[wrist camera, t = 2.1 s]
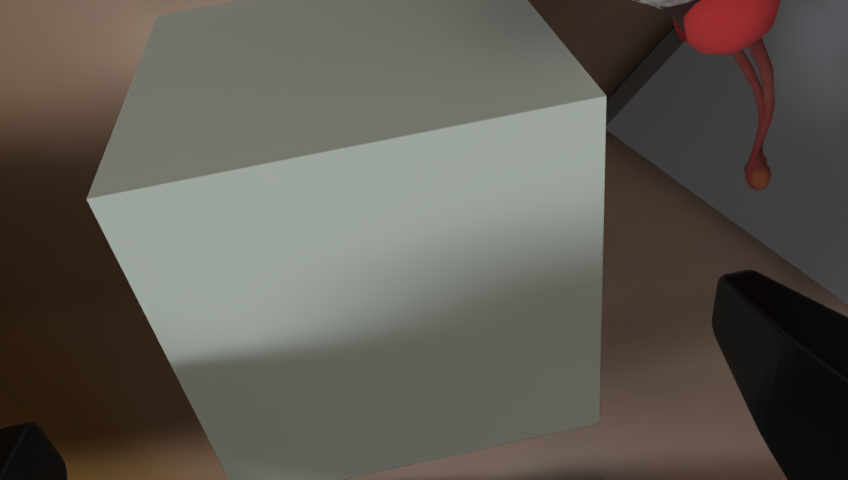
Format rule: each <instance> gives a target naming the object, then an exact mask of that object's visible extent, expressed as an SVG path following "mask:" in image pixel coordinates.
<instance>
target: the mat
mask: <svg viewBox="0 0 848 480" xmlns="http://www.w3.org/2000/svg"><path fill="white" fill-rule="evenodd" d="M762 40H763V43H764V45H765V48H766V50H767V52H768V55H769V58H770V61H771V63H772V66H773V76H774V96H775V106H774V111H773V116H772V121H771V124H770V126H769V129H768V132H767V135H766V137H765V140H764V142H763V155H764V156H765V157H766V158H767V165H768V166H769V168H770V171H771V179H770V183H769V185H768V186H767V187H766V188H765V189H762V190H755V189H752V188H750V186H749V185H748V183H747V182H746V180H745V172H744V168H743V167H744V166H745V165H746V163H747V162H748V160H749V157H750V154H751V152H752V148H753V145H754V142H755V138H756V133H757V128H758V122H759V116H758V110H757V105H756V100H755V98H754V95H753V90H752V88H751V86H750V84H749V83H748V81H747V79H746V77H745V75H744V74H743V72H742V70H741V68H740V67H739V65H738V64H737V62H736V60H735V59H734V57H733V56H732V54H728V55H722V54H702V53H700V52H699V51H697V50H696V49H694V48H693V47H692V46H690V45H689V44H688V43H687V42H684V41H682V40H680V38H679V36H678V35H677V33H676V31H675V27H674V28H673V29H672V30H671V31H670V32H669V33H668V34H667V35H666V37H665V38H664V39H663V40H662V41H661V42H660V43H659V44H658V45H657V46H656V48H655V49H654V50H653V51H652V52H651V53H650V54H649V55H648V56H647V57H646V59H645V60H644V61H643V62H642V63H641V64H640V65H639V66H638V67H637V68H636V70H635V71H634V72H633V73H632V74H631V75H630V76H629V77H628V78H627V79H626V81H625V82H624V83H623V84H622V85H621V86H620V87H619V88H618V89H617V90H616V91H615V93H614V94H613V95H612V96H611V97H610V98H609V99H608V100H607V101H606V130H607V131H608V132H610V133H611V134H612V135H614V136H615V137H616V138H618V139H619V140H621V141H622V142H623V143H625V144H626V145H628V146H629V147H630V148H632V149H633V150H634V151H636V152H637V153H639V154H640V155H641V156H643V157H644V158H645V159H647V160H648V161H650V162H651V163H652V164H654V165H655V166H656V167H658V168H659V169H661V170H662V171H663V172H665V173H666V174H667V175H669V176H670V177H672V178H673V179H674V180H676V181H677V182H678V183H680V184H681V185H683V186H684V187H685V188H687V189H688V190H690V191H691V192H692V193H694V194H695V195H696V196H698V197H699V198H701V199H702V200H703V201H705V202H706V203H707V204H709V205H710V206H712V207H713V208H714V209H716V210H717V211H718V212H720V213H721V214H723V215H724V216H725V217H727V218H728V219H729V220H731V221H732V222H734V223H735V224H736V225H738V226H739V227H741V228H742V229H743V230H745V231H746V232H747V233H749V234H750V235H752V236H753V237H754V238H756V239H757V240H758V241H760V242H761V243H763V244H764V245H765V246H767V247H768V248H769V249H771V250H772V251H774V252H775V253H776V254H778V255H779V256H780V257H782V258H783V259H785V260H786V261H787V262H789V263H790V264H791V265H793V266H794V267H796V268H797V269H798V270H800V271H801V272H803V273H804V274H805V275H807V276H808V277H809V278H811V279H812V280H814V281H815V282H816V283H818V284H819V285H820V286H822V287H823V288H825V289H826V290H827V291H829V292H830V293H831V294H833V295H834V296H836V297H837V298H838V299H840V300H841V301H842V302H844V303H845V304H847V305H848V0H780V5H779V9H778V12H777V15H776V18H775V21H774V24H773V27H772V28H771V29H770V30H769V31H768V32H767V33H766V34H765V35H764V36H763V37H762ZM743 51H744V53H745V54H746V56H747V57H748V59H749V61H750V62H751V64H752V66H753V68H754V70H755V72H756V75H757V77H758V79H759V81H760V84H761V87H762V83H761V79H760V75H759V70H758V67H757V65H756V63H755V61H754V58H753V56H752V55H751V53H750V51H749V49H748V47H747V48H745V49H743ZM762 90H763V88H762Z"/></svg>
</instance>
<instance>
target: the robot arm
mask: <svg viewBox="0 0 848 480" xmlns="http://www.w3.org/2000/svg"><path fill="white" fill-rule="evenodd" d="M712 327H713V332H714V335H715V337H716V340H717V342H718V344H719V346H720V348H721V351H722V353H723V355H724V357H725V359H726V361H727V363H728V366H729V368H730V370H731V372H732V374H733V376H734V379H735V381H736V383H737V385H738V387H739V389H740V392H741V394H742V396H743V398H744V400H745V402H746V405H747V407H748V409H749V411H750V413H751V415H752V417H753V420H754V422H755V424H756V426H757V428H758V430H759V432H760V434H761V435H762V437H763V439H764V441H765V442H766V444H767V446H768V448H769V449H770V451H771V453H772V454H773V456H774V458H775V459H776V461H777V463H778V464H779V466H780V468H781V469H782V471H783V473H784V474H785V476H786V477H787V479H788V480H848V317H846V316H844V315H842V314H840V313H838V312H836V311H834V310H832V309H830V308H828V307H826V306H824V305H822V304H820V303H818V302H816V301H814V300H812V299H810V298H808V297H806V296H804V295H802V294H800V293H798V292H796V291H794V290H792V289H790V288H788V287H786V286H784V285H782V284H780V283H778V282H776V281H774V280H772V279H770V278H768V277H766V276H764V275H762V274H760V273H758V272H756V271H753V270H744V271H739V272H735V273H730V274H725V275H723V276H721V278H720V279H719V281H718V284H717V289H716V296H715V302H714V309H713V315H712ZM0 480H67V470H66V466H65V463H64V460H63V459H62V457H61V456H60V454H59V453H58V451H57V450H56V449H55V447H54V446H53V444H52V443H51V442H50V440H49V439H48V437H47V436H46V435H45V433H44V432H43V430H42V429H41V428H40V427H39V426H38V425H37V424H35V423H29V422H28V423H23V424H19V425H14V426H9V427H5V428H2V429H0Z"/></svg>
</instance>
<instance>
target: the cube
mask: <svg viewBox="0 0 848 480" xmlns="http://www.w3.org/2000/svg"><path fill="white" fill-rule="evenodd" d="M606 97H607V96H606V95H605V93H604V92H603V91H602V90H601V89H600V87H599V86H598V85H597V84H596V82H595V81H594V80H593V79H592V78H591V76H590V75H589V74H588V73H587V72H586V70H585V69H584V68H583V67H582V65H581V64H580V63H579V62H578V61H577V59H576V58H575V57H574V56H573V55H572V53H571V52H570V51H569V50H568V48H567V47H566V46H565V45H564V44H563V42H562V41H561V40H560V39H559V38H558V36H557V35H556V34H555V33H554V31H553V30H552V29H551V28H550V27H549V25H548V24H547V23H546V22H545V20H544V19H543V18H542V17H541V16H540V14H539V13H538V12H537V11H536V10H535V8H534V7H533V6H532V5H531V3H530V2H529V1H528V0H239V1H233V2H228V3H223V4H218V5H212V6H207V7H202V8H196V9H191V10H186V11H180V12H175V13H170V14H165V15H159V16H157V18H156V20H155V23H154V26H153V28H152V31H151V33H150V36H149V38H148V41H147V44H146V46H145V49H144V51H143V54H142V57H141V59H140V62H139V64H138V67H137V69H136V72H135V75H134V77H133V80H132V82H131V85H130V88H129V90H128V93H127V95H126V98H125V101H124V103H123V106H122V108H121V111H120V113H119V116H118V119H117V121H116V124H115V126H114V129H113V132H112V134H111V137H110V139H109V142H108V145H107V147H106V150H105V152H104V155H103V157H102V160H101V163H100V165H99V168H98V170H97V173H96V176H95V178H94V181H93V183H92V186H91V189H90V191H89V194H88V196H87V201H88V203H89V205H90V207H91V209H92V211H93V213H94V215H95V217H96V219H97V221H98V223H99V225H100V227H101V229H102V231H103V233H104V235H105V237H106V239H107V241H108V243H109V245H110V247H111V249H112V251H113V252H114V254H115V256H116V258H117V260H118V262H119V264H120V266H121V268H122V270H123V272H124V274H125V276H126V278H127V280H128V282H129V284H130V286H131V288H132V290H133V292H134V294H135V296H136V298H137V300H138V302H139V304H140V306H141V308H142V309H143V311H144V313H145V315H146V317H147V319H148V321H149V323H150V325H151V327H152V329H153V331H154V333H155V335H156V337H157V339H158V341H159V343H160V345H161V347H162V349H163V351H164V353H165V355H166V357H167V359H168V361H169V363H170V364H171V366H172V368H173V370H174V372H175V374H176V376H177V378H178V380H179V382H180V384H181V386H182V388H183V390H184V392H185V394H186V396H187V398H188V400H189V402H190V404H191V406H192V408H193V410H194V412H195V414H196V416H197V418H198V419H199V421H200V423H201V425H202V427H203V429H204V431H205V433H206V435H207V437H208V439H209V441H210V443H211V445H212V447H213V449H214V451H215V453H216V455H217V457H218V459H219V461H220V463H221V465H222V467H223V469H224V471H225V473H226V474H227V476H228V478H229V480H343V479H347V478H352V477H356V476H361V475H366V474H370V473H375V472H379V471H384V470H388V469H393V468H397V467H402V466H407V465H411V464H416V463H420V462H425V461H429V460H434V459H439V458H443V457H448V456H452V455H457V454H461V453H466V452H470V451H475V450H480V449H484V448H489V447H493V446H498V445H502V444H507V443H512V442H516V441H521V440H525V439H530V438H534V437H539V436H543V435H548V434H553V433H557V432H562V431H566V430H571V429H575V428H580V427H584V426H589V425H594V424H598V423H599V416H600V370H601V325H602V279H603V234H604V188H605V142H606Z"/></svg>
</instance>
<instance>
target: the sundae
mask: <svg viewBox="0 0 848 480" xmlns="http://www.w3.org/2000/svg"><path fill="white" fill-rule="evenodd" d="M625 1H633V2H639V3H643V4H647V5H651V6H654V7H657V8H659V9H662V10H664V11H665V12H666V13H668V14H669V15H670V16H671V17H672V18H673V22H674V26H675V31H676V33H677V35H678V36H679V38H680V40H682V41H684V42H687V43H688V44H689V45H690V46H692V47H693V48H694V49H696V50H697V51H699V52H700V53H702V54H722V55H728V54H732V56H733V57H734V59H735V60H736V62H737V64H738V65H739V67H740V68H741V70H742V72H743V74H744V75H745V77H746V79H747V81H748V83H749V84H750V86H751V88H752V90H753V95H754V98H755V100H756V105H757V110H758V116H759V122H758V128H757V133H756V138H755V142H754V145H753V148H752V152H751V154H750V157H749V160H748V162H747V163H746V165H745V166H744V167H743V168H744V172H745V180H746V182H747V183H748V185H749V186H750V188H752V189H755V190H762V189H765V188H766V187H767V186H768V185H769V183H770V179H771V171H770V168H769V166H768V165H767V158H766V157H765V156H764V155H763V142H764V140H765V137H766V135H767V132H768V129H769V126H770V124H771V121H772V116H773V111H774V106H775V96H774V76H773V66H772V63H771V61H770V58H769V55H768V52H767V50H766V48H765V45H764V43H763V40H762V37H763V36H764V35H765V34H766V33H767V32H768V31H769V30H770V29H771V28H772V27H773V24H774V21H775V18H776V15H777V12H778V9H779V5H780V0H625ZM747 47H748V49H749V51H750V53H751V55H752V56H753V58H754V61H755V63H756V65H757V67H758V70H759V75H760V79H761V83H762V87H761V84H760V81H759V79H758V77H757V75H756V72H755V70H754V68H753V66H752V64H751V62H750V61H749V59H748V57H747V56H746V54H745V53H744V51H743V49H745V48H747ZM762 88H763V90H762Z"/></svg>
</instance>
